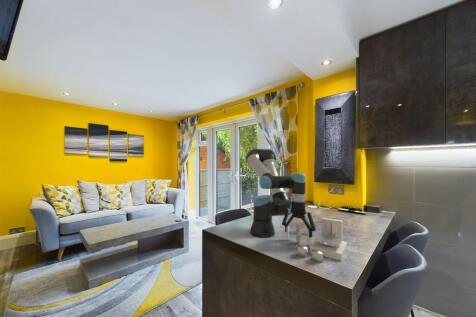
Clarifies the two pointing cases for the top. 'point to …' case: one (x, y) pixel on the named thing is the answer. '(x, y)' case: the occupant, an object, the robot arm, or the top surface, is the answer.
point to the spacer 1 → (302, 251)
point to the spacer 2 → (317, 256)
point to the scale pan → (328, 240)
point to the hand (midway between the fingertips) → (298, 240)
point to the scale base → (331, 229)
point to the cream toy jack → (298, 233)
